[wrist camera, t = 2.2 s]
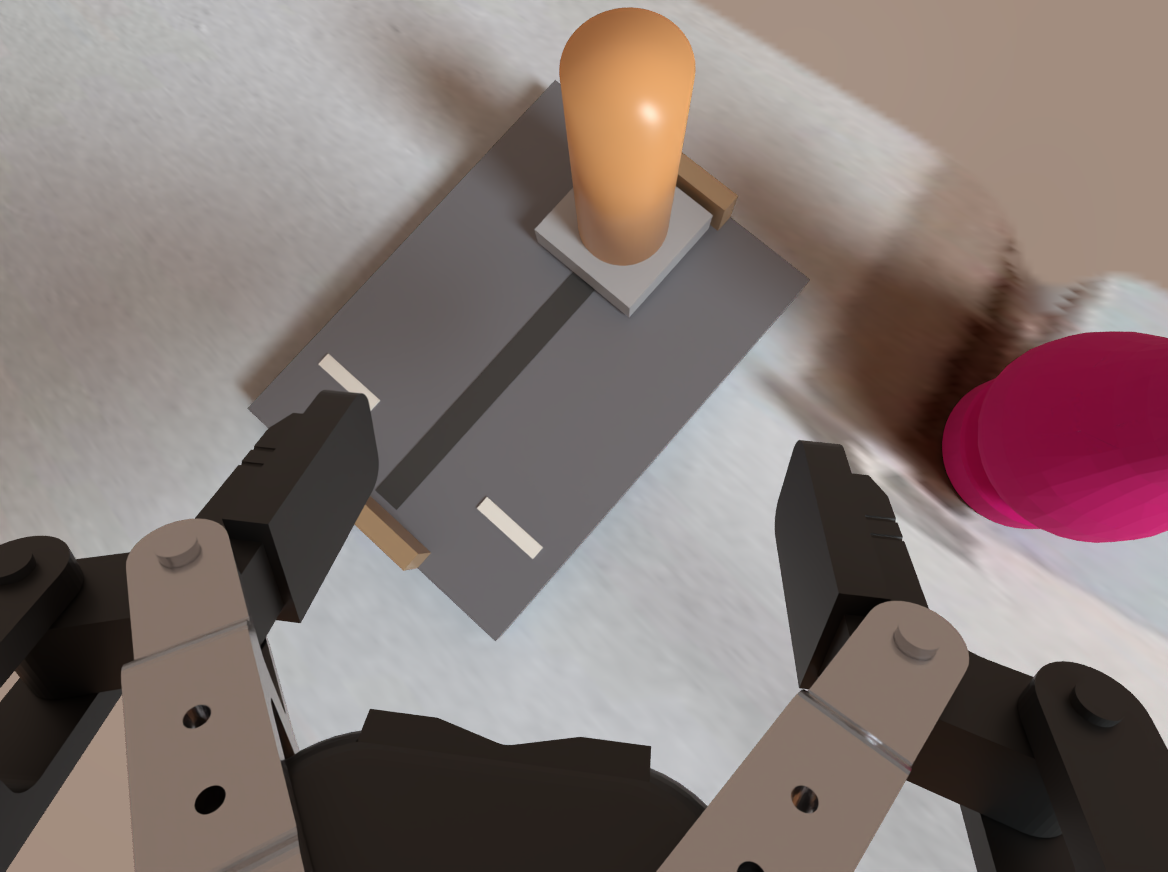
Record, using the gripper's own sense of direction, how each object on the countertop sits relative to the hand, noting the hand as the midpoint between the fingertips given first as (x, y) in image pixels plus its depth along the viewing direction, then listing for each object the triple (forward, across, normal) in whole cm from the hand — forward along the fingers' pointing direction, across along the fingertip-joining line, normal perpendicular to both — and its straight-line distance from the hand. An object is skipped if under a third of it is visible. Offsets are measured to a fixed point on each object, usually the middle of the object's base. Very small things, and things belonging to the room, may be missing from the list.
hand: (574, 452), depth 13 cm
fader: (+17, 0, +2) cm, 18 cm away
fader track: (+15, +4, +7) cm, 17 cm away
